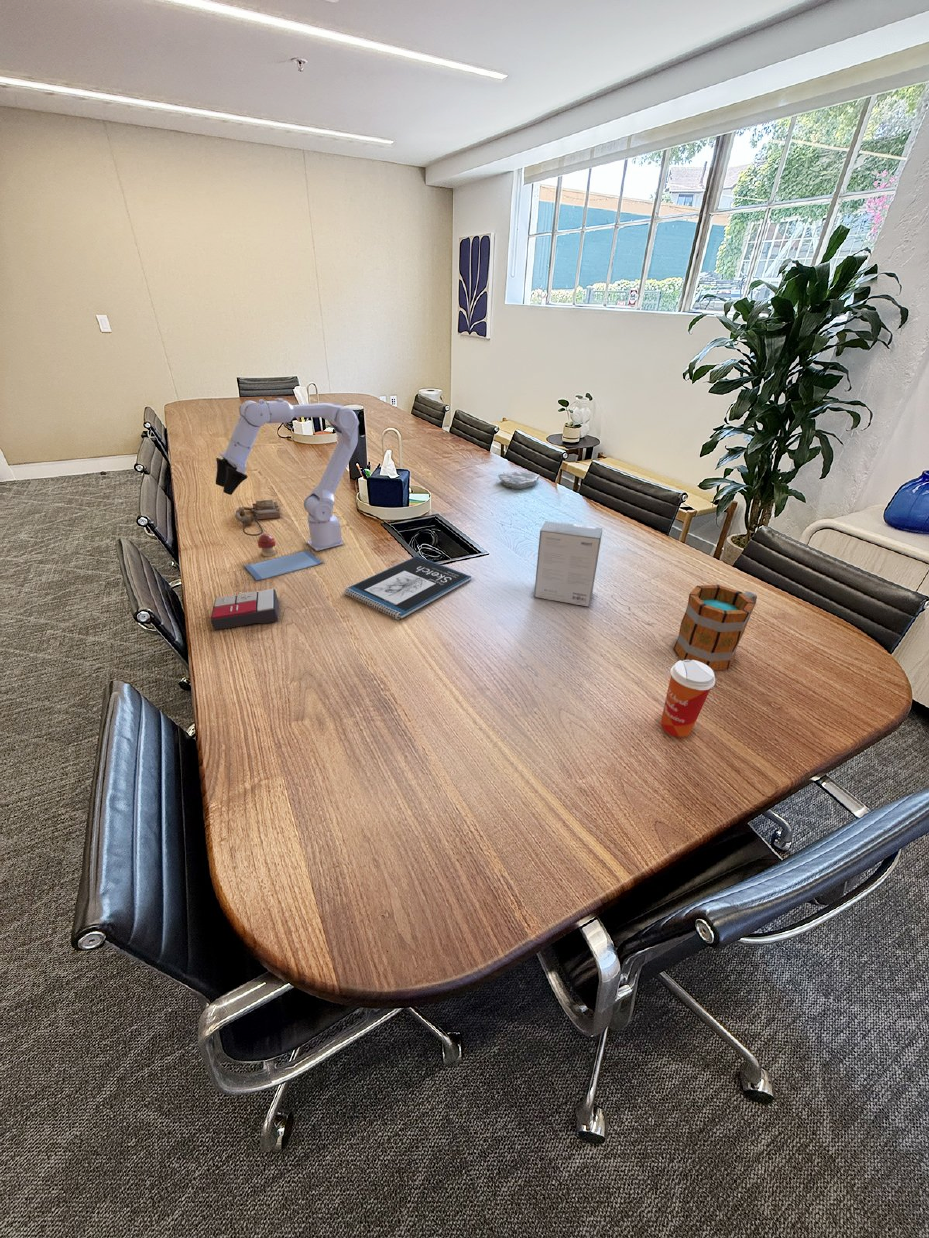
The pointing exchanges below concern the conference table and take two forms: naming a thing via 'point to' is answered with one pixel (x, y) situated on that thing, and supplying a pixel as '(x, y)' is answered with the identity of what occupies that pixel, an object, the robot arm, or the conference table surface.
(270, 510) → the telephone
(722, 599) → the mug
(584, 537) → the hard drive box
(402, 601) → the sketchbook
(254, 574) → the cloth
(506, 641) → the conference table surface
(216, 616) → the grey and red box
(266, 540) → the mushroom
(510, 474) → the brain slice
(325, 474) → the robot arm
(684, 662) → the paper cup
